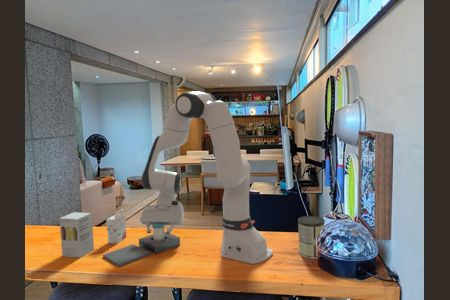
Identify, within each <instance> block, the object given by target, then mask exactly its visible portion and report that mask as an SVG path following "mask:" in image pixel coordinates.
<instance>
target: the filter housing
mask: <svg viewBox="0 0 450 300" xmlns="http://www.w3.org/2000/svg"><path fill="white" fill-rule="evenodd" d="M164 232H165V239H164V240H162V241H159V242H156V241H154V239H153V234H150V235H147V236H144V237H141V238H138V247H140V248H142V249H144V250H146V251H148V252H150V254H154V255H159V254H160V253H163V252H165V251H168V250H171V249H173V248H177V247H179V246H180V245H181V237H180V236H177V235H175V234H172V233H171V234H167V233H166V232H167V231H164Z"/></svg>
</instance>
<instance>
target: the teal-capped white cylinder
mask: <svg viewBox="0 0 450 300" xmlns="http://www.w3.org/2000/svg"><path fill="white" fill-rule="evenodd" d="M165 226H166V225H165V224H164V223H163V222H157V223H154V224H152V225H151V228H152V235H153V239H154V241H156V242H159V241H162V240H164V239H165V232H166V231H165Z"/></svg>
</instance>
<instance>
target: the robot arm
mask: <svg viewBox="0 0 450 300" xmlns="http://www.w3.org/2000/svg"><path fill="white" fill-rule="evenodd" d="M199 118H201V119H202V118H203V120H204V122H206V125H207V129H208V132H209V136H210V139H211V143H212V147H213V151H214V157H215V158H214V159H215V166H216V181H217V182H218V183H217V184H219V185H220V186H221V187H223V188H224V190H223V195H222V213H223V214H222V220H221V222H222V225H221V226H222V227H223V229H222V230H223V232H222V239H221V240H222V241H221V247H220V252H221V253H220V256H221V257H223V258H227V259H231V260H235V261H238V262H242V263H246V264H250V265H254V264H255V265H256V264H260V263H262V262H264V261H267V260H268V259H269V258H271V257H272V256H273V253H274V251H273V250H272V249H271V248H268V244H267V240H266V238H265V236H263V235H262V234H261V233H260V232H259V231H258V230H257V229H256V227H255V226H254V224H255V223H256V222H255V221H256V220H255V219H254V220H252V218H251V216H250V188H251V186H250V184H251V164H250V163H249V161H248V160H247V159H245V158H244V157H242V153H241V144H240V142H241V141H240V138H239V135H238V132H237V129H236V128H237V127H236V125H235V122H234V118H233V115H232V113H231V111H230V109H229V107H228V105H227V103H226V102H225V101H222V100H217V99H216V97H215V96H214V95H213V94H211V93H209V92H206V91H205V92H204V91H199V90H196V91H184V92H182V93H181V94H179V95H178V96H177V98H176V99H175V102H174V103H172V104H171V105H170V106H169V109H168V111H167V114H166V118H165V122H164V128H163V131H162V133H161V134H160V135H157V136H156V137H155V139H154V141H153V144H152V146H151V149H150V152H149V156H148V158H147V162H146V164H145V167H144V170H143V172H142V174H141V177H140V184H141V186H142V187H143V188H144V189H145V190H149V191H150V190H151V191H152V190H153V191H159V193H158V195H157V199H156V201H155V202H156V203H155V204H154V205H151V204H149V205H146V206H144V207H143V209H142V213H141V215H140V217H139V221H140V223H141V224H142V225H144V226H146V233H147V234H152V229H151V228H150V227H152V224H154V223H157V222H163V223H164V224H165V226H170V227H169V228H167V229H166V231H165V232H166V233H167V234H172V230H173V231H174V228H175V227H176V226H182V225H183V224H184V221H185V213H184V211H185V208H184V206H183V204H182V203H181V201H178V200H176V198H177V196H178V194H179V193H180V192H181V187H182V182H183V179H182V176H181V175H180V174H179V173H178V172H174V171H171V170H170V171H169V170H163V169H158V168H156V165H157V162H158V159H159V156H160V153H161V152H164V151H166V150H171V149H177V148H179V147H181V146H183V145H184V144H185V143H186V142H187V141H188V138H189V133H190V127H191V123H192V120H193V119H199Z"/></svg>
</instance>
